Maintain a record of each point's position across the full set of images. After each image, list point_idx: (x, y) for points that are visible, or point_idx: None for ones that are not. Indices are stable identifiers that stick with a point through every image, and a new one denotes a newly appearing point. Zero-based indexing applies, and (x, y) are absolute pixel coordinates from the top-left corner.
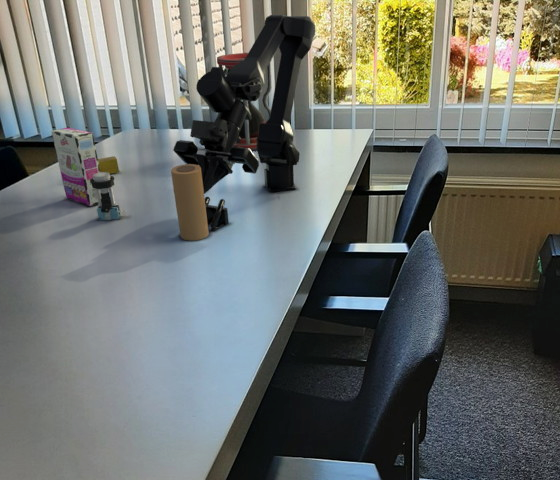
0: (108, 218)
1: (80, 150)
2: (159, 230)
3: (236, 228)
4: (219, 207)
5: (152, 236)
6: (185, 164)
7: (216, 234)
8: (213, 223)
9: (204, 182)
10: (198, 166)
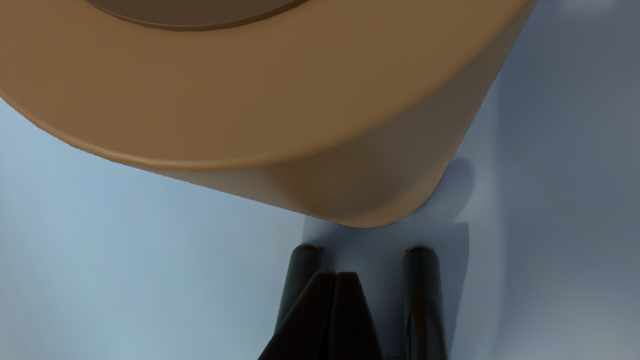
0: None
1: None
2: (619, 120)
3: (214, 336)
4: None
5: (586, 28)
6: (438, 48)
7: (265, 214)
8: (297, 256)
9: (298, 343)
10: (39, 83)
